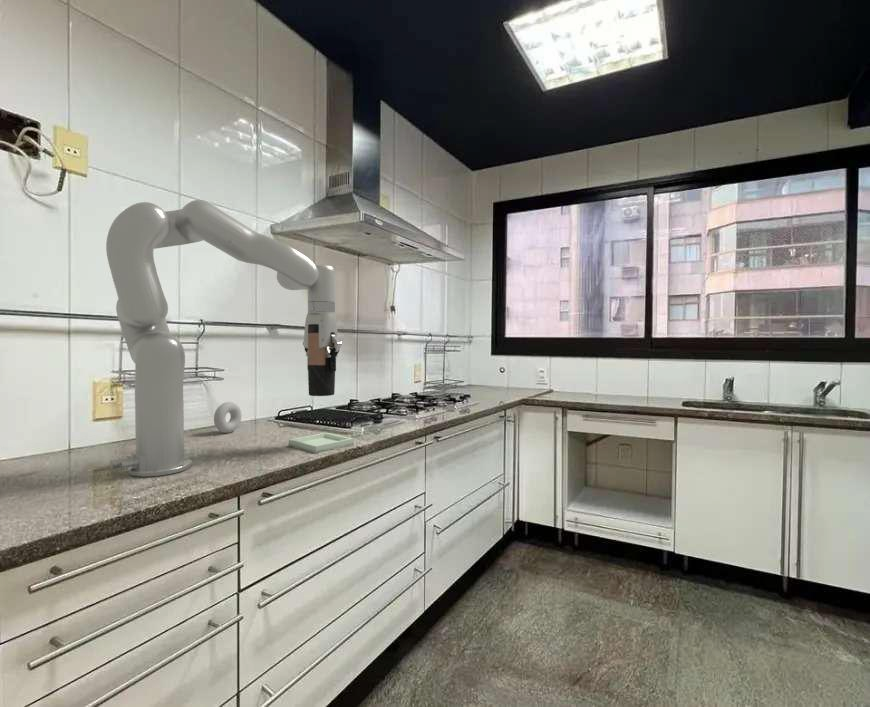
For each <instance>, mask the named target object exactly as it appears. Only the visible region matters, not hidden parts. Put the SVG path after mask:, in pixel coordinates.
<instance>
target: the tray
mask: <svg viewBox="0 0 870 707" xmlns="http://www.w3.org/2000/svg"><path fill="white" fill-rule="evenodd" d="M353 444H354V445H355V438H353V437H349V436H344V435H339V434H335V433H329V432H322V433H317V434H312V435H307V436H306V435H305V436H299V437H295V438H289V439H288V446H289V447H290V448H291V447H292V448H295V449H300V450H303V451H306V452H310V453H314V454H319V453H324V452H328V450H329V451H333V450H336V449H337V450H338V449H341V448H340V447H342V448H345V447H344V446H346V447H349V446H348V445H351V446H354V445H353Z"/></svg>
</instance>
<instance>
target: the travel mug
mask: <svg viewBox="0 0 870 707" xmlns="http://www.w3.org/2000/svg"><path fill="white" fill-rule="evenodd" d="M332 344H334V343H333V342H332V340H331V339H330V342H329V345H328V346H332ZM329 350H330V352H331V350H332V349H329ZM326 358H328V357H327V355H326V352H325V348H324V349H320V348H319V324H308V368H307V377H308V378H307V379H308V381H307V382H308V396H311V397H329V396H334V395H335V392H336V391H335V389H336V388H335V387H336V371H335V372H326Z"/></svg>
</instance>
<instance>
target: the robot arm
mask: <svg viewBox="0 0 870 707" xmlns="http://www.w3.org/2000/svg"><path fill="white" fill-rule="evenodd" d="M203 241H204V242H206V243H208V244H209V245H211V246H213V247H215V248H216V249H218V250H220V251H221V252H223V253H225V254H227V255H228V256H231V257H232V258H233V259H235V260H237V261H240V262H242V263H246V264H253V265H258V266H259V265H260V266H261V267H262V266H263V267H266V268H268V269H271V270H273V271H276V272H277V273H276V280H277V283H278V284H279V285H280V286H281V287H282V288H284V289H286V290H288V291H289V290H290V291H300V290H307V314H306V317H305V323H304V337H303V341H302V345H303V348H304V352H305V353H306V354H305V357H307V369H308V324H319V348H320V349H324V348H325V352H326V355H327V357H328V358H326V372H335V373H336V372H337V371H336V370H337V358H338V354H339V352H340V349H341V347H342V346H343V345H342V343H343V342H342V341H341V340H340V339H339V336H338V335H339V334H338V323H337V316H336V270H335V268H334V267H333V266H331V265H329V264H315V263H314V261H312V259H310V258H309V257H308V256H306V255H305V254H303V253H301V252H300V251H298V250H296V249H295V248H293V247H292V246H290V245H288V244H286V243H283V242H282V241H280V240H276V239H274V238H271V237H269V236H267V235H264V234H262V233H259V232H257V231H255V230H253V229H252V228H250V227H248V226H247V225H245V224H243V223H242V222H240V221H239V220H237V219H236V218H235V217H232V216H231V215H230V214H228V213H226V212H225V211H223V210H221V209H220V208H218V207H217V206H215V205H213V204H212V203H210V202H208V201H206V200H202V199H196V200H195V199H194V200H191V201H190V202H187V203H186V204H185V205H184V206H183V207H182V208H180V209H174V210H167V211H165V210H164V209H162V207H160V206H159V205H158V204H155V203H152V202H147V201H142V202H137V203H134V204H131V205H130V206H128V207H127V208H125V209H124V210H122V211H121V212H120V213H119V214H118V215H117V216H116V217H115V218H114V219H113V222H112V223H111V225H110V227H109V229H108V233H107V236H106V243H105V245H106V247H105V249H106V252H105V253H106V257H107V261H108V263H107V264H108V266H109V269H110V273H111V278H112V281H113V284H114V285H113V286H114V288H115V291H116V295H117V301H116V304H115V305H116V306H115V309H116V310H115V311H116V315H117V319H118V323H119V325H120V329H121V331H122V335H123V337H124V340H125V341H124V342H125V344H126V347H127V350H128V353H129V355H130V358H131V360H132V362H133V363H134V366H135V368H134V369H135V370H134V371H135V372H134V374H135V376H134V403H135V404H134V412H135V413H134V414H135V417H134V418H135V420H134V421H135V424H134V425H135V450H133V451H131V452H130V455H126V457H124V458H123V457H122V458H120V457H119V458H113V459H110V460H109V467H110V469H117V468H121V469H125V468H127V474H128V475H130V476H133V477H139V478H140V477H141V478H142V477H145V478H146V477H158V476H159V477H160V476H166V475H171V474H175V473H176V474H177V473H180V472H183V471H186V470H188V469H190V467H192V460H191V459H190V458H186V457H185V438H184V437H185V434H184V433H185V432H184V431H185V430H184V426H185V424H184V423H185V422H184V421H185V420H184V419H185V418H184V410H185V409H184V378H185V367H186V366H185V365H186V353H185V349H184V346H183V344H182V342H181V341H180V340H179V339H178V337H176V336H174V335H172V334H171V333H170V329H169V326H168V325H169V324H168V323H167V319H166V317H167V316H168V312H169V306H168V302H167V299H166V297H165V294H164V291H163V288H162V284H161V282H160V279H159V275H158V273H157V272H158V271H157V267H156V264H155V259H154V250H155V249H161V248H168V247H175V246H183V245H189V244H194V243H199V242H203ZM330 339H331V340H332V342H333V343H334V344H332V346H328V345H329V342H330ZM329 349H332V350H331V352H330V350H329Z"/></svg>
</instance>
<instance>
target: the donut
mask: <svg viewBox="0 0 870 707" xmlns="http://www.w3.org/2000/svg"><path fill="white" fill-rule="evenodd" d="M228 413H229V414H230V419H229V420H228V422H227V420H226V416H227V415H228ZM241 421H242V411H241V408H240V407H239V405H238V404H237V403H234V402H232V401H227V402H224V403H221V404H220V405H219V406H217V408H216V409H215V412H214V415H213V424H214V426H215V428H216V429H217V430H218V431H219V432H221V433H223V434H229V433H232V432H234V431H236V430H237V429H238V428H239V426H240V424H241Z"/></svg>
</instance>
